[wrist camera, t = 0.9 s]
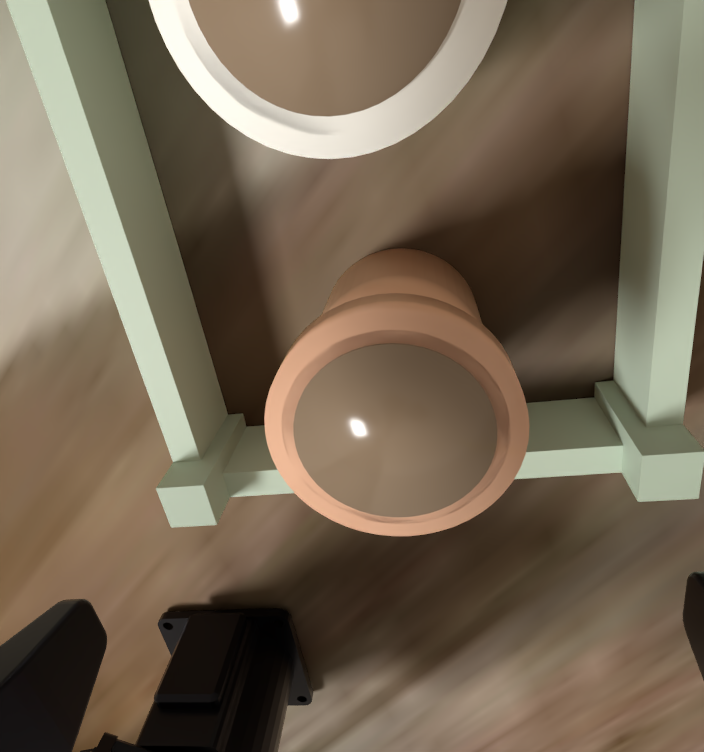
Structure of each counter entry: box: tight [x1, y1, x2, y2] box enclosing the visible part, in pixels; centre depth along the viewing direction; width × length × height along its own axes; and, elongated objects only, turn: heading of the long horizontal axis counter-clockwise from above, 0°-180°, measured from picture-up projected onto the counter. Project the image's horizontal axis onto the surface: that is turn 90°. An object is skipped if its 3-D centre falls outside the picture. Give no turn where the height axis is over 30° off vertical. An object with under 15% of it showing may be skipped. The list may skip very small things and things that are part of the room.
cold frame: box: [6, 0, 704, 527], centre depth 15 cm, size 18×16×4 cm
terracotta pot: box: [264, 248, 530, 536], centre depth 16 cm, size 6×6×7 cm
